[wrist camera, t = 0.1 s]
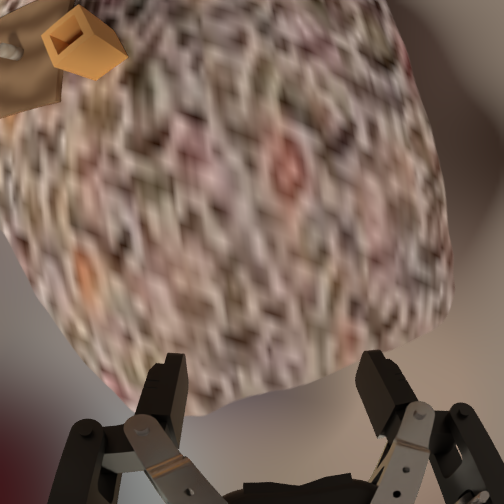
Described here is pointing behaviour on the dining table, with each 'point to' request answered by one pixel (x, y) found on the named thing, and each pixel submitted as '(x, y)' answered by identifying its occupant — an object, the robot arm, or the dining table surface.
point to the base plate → (29, 57)
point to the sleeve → (83, 44)
